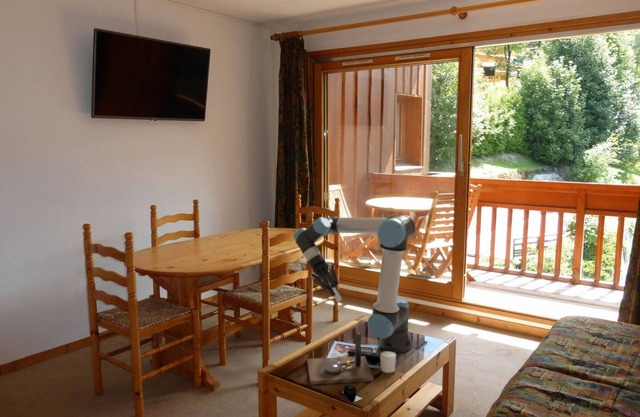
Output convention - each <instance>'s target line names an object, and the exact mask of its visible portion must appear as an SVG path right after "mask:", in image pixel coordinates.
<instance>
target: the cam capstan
mask: <svg viewBox="0 0 640 417" xmlns="http://www.w3.org/2000/svg"><path fill="white" fill-rule="evenodd" d="M354 334H355V335H354V337H355V338H354V339H355V340H354V341H355V342H354V345H355V348H354V350H355V351H354V355H355V356H354V357H355V359H353V360H349V361H344V362H340V363H339V362H336V361H330V362H327V363H325V365H324V371H325V372H326V373H328V374H338V373H340V372H341V366H344V365H345V366H346V367H349V366H350V365H351V364H353V363H355V365H356V366H361V356H362V333H360V332H355V333H354Z"/></svg>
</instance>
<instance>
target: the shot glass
mask: <svg viewBox="0 0 640 417" xmlns="http://www.w3.org/2000/svg"><path fill="white" fill-rule="evenodd" d="M396 358H397V354H396V353H395V352H391V351H385V350H384V351H381V352H380V353H379V359H380V370H381V371H382V372H383V373H386V374H387V373H388V374H389V373H394V372H395V371H396V370H395V368H396V361H397V359H396Z"/></svg>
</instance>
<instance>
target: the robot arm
mask: <svg viewBox="0 0 640 417" xmlns="http://www.w3.org/2000/svg"><path fill="white" fill-rule="evenodd" d="M415 232H416V222H415V221H414V219H413V218H412V217H411V216H409V215H407V214H396V215H391V214H389V215H388V216H387V217H338V216H331V217H327V218H326V217H324V216H320V217H318V218H317V219H316V220H314V221H313V223H311V224H310V225H309V226H308V227H307V228H306V227H301V228H299V229H297V230H296V231H295V232H293V234H292V235H293V236H292V238H293V239H294V242H295V244H296V245H297V246H298V249H299V250H300V252H301V253H302V255H303V257H304V258H305V260H306V262H308V263H307V264H308V265H309V267H310V269H311V270H312V274H311V275H310V279H312V280H313V281H314V282H316V283H317V284H318V286H319V287H320V288H321V289H322V290H323V291H324V292H326V291H327V292H329V294H330V295H331V296H332V297H334V299H335V300H336V302H337V303H340V302H341V301H342V300H343V298H342V296H341V295H340V290H339V289H338V287H337V286H338V285H339V280H338V276H337V275H336V271H335V266H334V264H331V265H329V263H327V262H326V260H325V258H324V256H323V255H322V254H321V252H320V250H319V248H318V246H317V245H316V243H317V241H319V239H321V237H324V236H327V235H330V234H340V233H341V234H368V235H369V234H373V235H374V234H375V235H376V234H377V238H378V241H379V248H380V249H381V250H382V252H381V263H380V264H381V265H380V272H379V273H380V274H379V281H378V282H379V283H378V288H377V289H378V290H377V300H376V301H375V302H374V303H373V304H372V312H371V315H370V316H369V318H368V319H367V328H368V330H369V332H370V333H371V334H372V335H373V336H374V337H376V338H378V339H379V348H381V349H382V350H384V351H391V352H394V353H395V354H396V353H398V354H399V353H405V352H408V351H410V350H411V349H412V347H413V346H412V345H413V343H412V340H411V336H410V333H409V309H410V308H409V302H408V301H407V300H406V299H403V298H399V297H398V293H399V287H400V286H399V285H400V277H401V267H402V260H403V253H405V252H406V251H407V248H408V242H409V241H408V240H410V239H411V238H413V237H414V234H415Z"/></svg>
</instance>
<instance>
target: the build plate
mask: <svg viewBox="0 0 640 417" xmlns="http://www.w3.org/2000/svg"><path fill="white" fill-rule="evenodd" d="M336 394H338V395H340V396H341V397H343V398H344V399H346V400H347V401H348V402H350V403H351V404H353V403H355V402H357V401H359V400H362V399H363V397H362V396H360V395H359V394H358V393H357V388H356V385H354V384H352V382H347V383H346V384H345V383H344V384H343V389H342V390H339V391H337V392H336Z"/></svg>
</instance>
